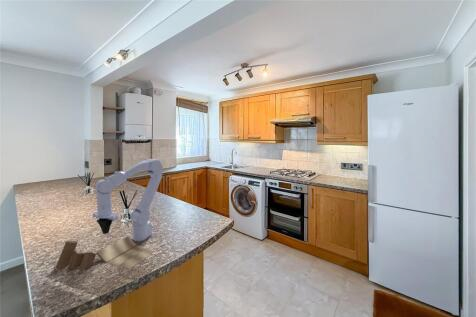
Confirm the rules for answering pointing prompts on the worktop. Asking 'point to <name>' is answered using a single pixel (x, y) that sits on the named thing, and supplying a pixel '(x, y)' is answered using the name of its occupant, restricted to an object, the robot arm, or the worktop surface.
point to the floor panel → (133, 260)
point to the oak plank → (115, 249)
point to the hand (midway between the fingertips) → (105, 233)
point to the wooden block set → (74, 257)
